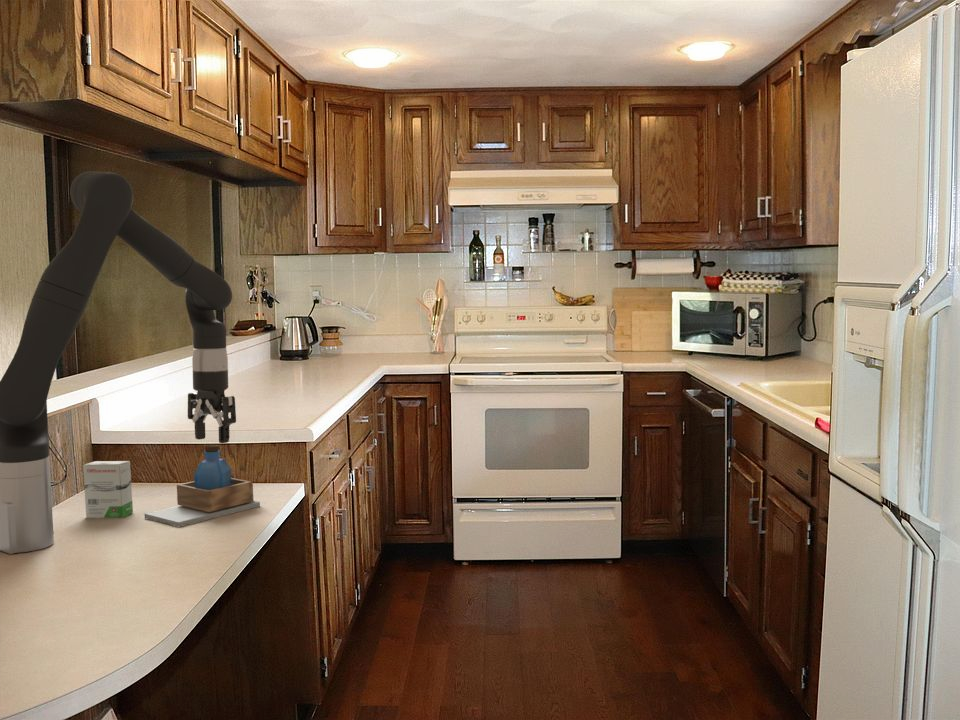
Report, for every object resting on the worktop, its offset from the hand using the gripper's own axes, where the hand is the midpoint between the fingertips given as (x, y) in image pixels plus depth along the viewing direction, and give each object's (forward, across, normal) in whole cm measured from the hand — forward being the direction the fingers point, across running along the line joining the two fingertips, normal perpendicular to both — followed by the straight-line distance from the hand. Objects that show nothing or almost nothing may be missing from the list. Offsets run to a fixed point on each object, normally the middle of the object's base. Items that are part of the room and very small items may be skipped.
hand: (212, 440), depth 193 cm
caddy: (+14, 0, 0) cm, 14 cm away
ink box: (+16, +15, +16) cm, 27 cm away
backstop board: (+15, 0, +3) cm, 16 cm away
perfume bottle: (+13, 0, 0) cm, 13 cm away
